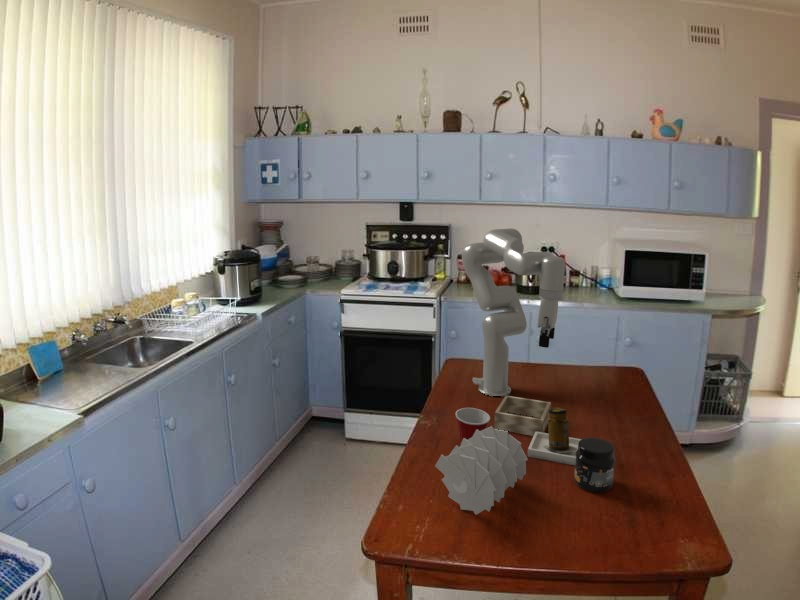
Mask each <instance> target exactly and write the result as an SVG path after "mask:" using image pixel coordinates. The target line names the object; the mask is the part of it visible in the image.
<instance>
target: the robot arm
mask: <svg viewBox="0 0 800 600" xmlns="http://www.w3.org/2000/svg"><path fill="white" fill-rule="evenodd" d="M524 250H525V247H524V243H523V236H522V234H521V232H520V231H518V230H517V229H515V228H497V229H492V230H489V231H487V232H486V233H485V235H484V237H483V241H482V242H474V243H470V244H467V245H466V246H465V247H464V248H463V250H462V253H461V264H462V266H463V270H464V271H465V273H466V275H467V277H468V279H469V280H470V283H471V287H472V288H473V291H474V295H475V298H476V301H477V303H478V306H479V308H480V309H481V311H483V312H486V313H487V312H493V313H489V314H487V315H485V316H484V318H483V319H482V322H481V328H482V333H483V334H482V336H483V365H482V366H483V367H482V377H476V376H475V377H474V376H473V377H472V382H473V384H474V385H478V391H480V392H481V394H482V393H483V394H482V395H484V394H485V395H484V396H487V395H489V396H488V397H493V396H501V397H505V396H509V395H510V394H511V392H512V389H511V387H510V385H508V376H509V358H510V357H509V354H510V353H509V351H510V350H509V348H510V347H509V345H508V344H507V342H506V340H505V338H506V337H512V336H516V335H517V336H518V335H522V334H524V332H525V331H526V330H527V327H528V324H527V318H526V315H525V312H524V309H523V306H522V304H521V301H520V298H519V295H518V293H517V291H516V289H514V288H513V287H512V286H511V285H499V286H498V285H496V283H495V281H494V278H493V276H492V273H491V272H489V270H488V269H487V268H485V266H484V265H488V264H499V263H504V265H505V267H506V268H507V270H509V271H511V272H512V273H514V274H516V275H518V276H519V275H520V276H533V275H535V276H536V275H540V279H539V290H538V298H539V299H540V305H539V310H538V319H537V326H536V327H537V328H539V329H540V333H539V336H538V337H539V338H538V347H540V348H549V347H550V340H554V338H555V331H556V329H555V325H556V322H557V319H558V312H559V311H558V310H559V301H561V300H563V294H564V293H563V291H564V282H565V271H566V259H565V258H564V257H561V256H556V255H554V254H552V253H551V252H548V251H539V252H538V251H535V252H525V253H524ZM497 311H499V312H497ZM480 392H479V393H480Z"/></svg>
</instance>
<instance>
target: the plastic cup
mask: <svg viewBox="0 0 800 600" xmlns="http://www.w3.org/2000/svg"><path fill="white" fill-rule="evenodd" d="M455 418H456V422H457V426H458V434H459V441H460V444H461V443H462V440H463V438H465V439H467V440H468V439H470V438H471V437H473V435H474V433H475V431H476V429H478V430H479V431H482V430H484V429H486V428H487V425H488V424H489V422H490V420H491V416H490V414H489V413H487V412H486V411H484V410H482V409H479V408H474V407H463V408H460V409H457V410H456V411H455Z"/></svg>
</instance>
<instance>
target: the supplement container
mask: <svg viewBox="0 0 800 600" xmlns="http://www.w3.org/2000/svg"><path fill="white" fill-rule="evenodd" d="M580 439H581V438H580ZM615 448H616V447H615V446H614V445H613V444H612V443H611V442H610V441H608V440H605V439H602V438H599V437H584V438H582V439H581V440H580V441H579V443H578V450H577V452H576V462H575V466H574V475H573V481H574V483H575V484H576V486H578V487H579V488H580V489H583V490H585V491H587V492H590V493H597V494H598V493H605V492H608V491H610V490H611V489H612V488H613V486H614V476H615V475H614V473H615V465H616V457H615V451H616V450H615Z"/></svg>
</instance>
